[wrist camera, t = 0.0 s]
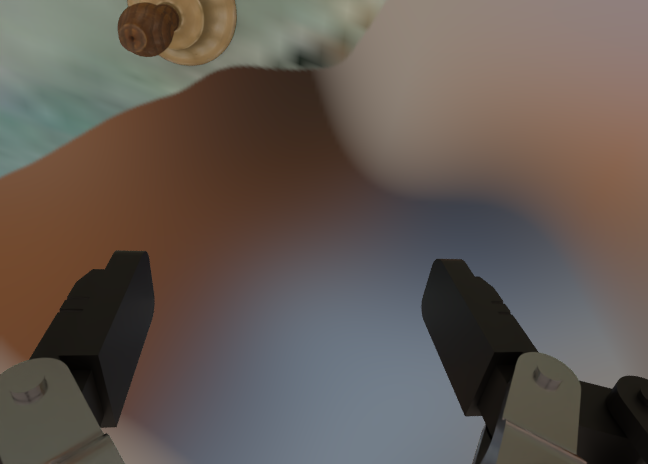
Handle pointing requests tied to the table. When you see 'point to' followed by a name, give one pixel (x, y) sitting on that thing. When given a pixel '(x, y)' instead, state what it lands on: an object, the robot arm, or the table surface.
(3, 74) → the table surface
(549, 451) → the robot arm
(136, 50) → the hand bell
